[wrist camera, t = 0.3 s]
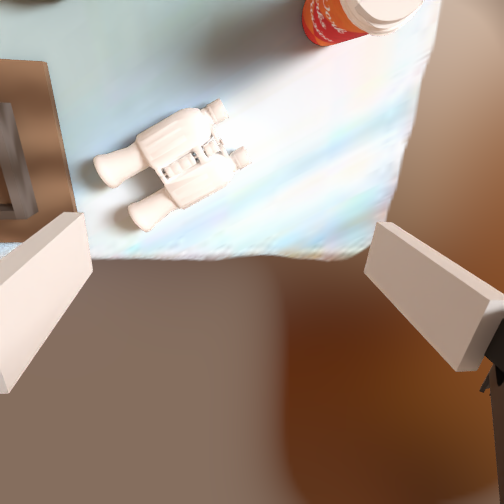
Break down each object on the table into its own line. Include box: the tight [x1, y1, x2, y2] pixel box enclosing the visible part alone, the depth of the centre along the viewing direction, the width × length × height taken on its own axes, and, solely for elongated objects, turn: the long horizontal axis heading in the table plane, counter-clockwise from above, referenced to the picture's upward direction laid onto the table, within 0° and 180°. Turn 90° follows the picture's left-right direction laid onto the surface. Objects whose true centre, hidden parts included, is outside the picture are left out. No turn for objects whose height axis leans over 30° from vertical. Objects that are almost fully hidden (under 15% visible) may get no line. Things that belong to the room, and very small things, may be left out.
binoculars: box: [93, 99, 252, 232], centre depth 37 cm, size 10×16×5 cm, turn 117°
